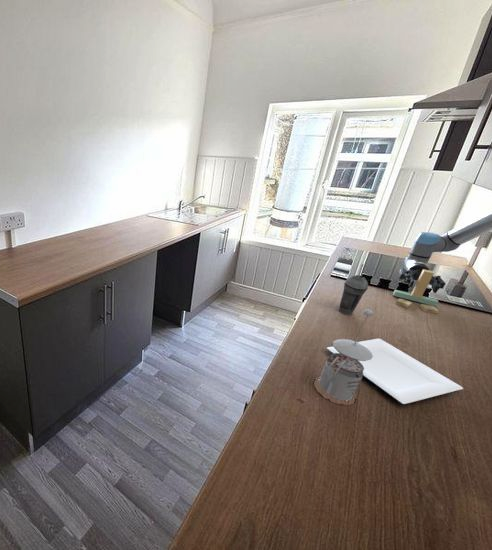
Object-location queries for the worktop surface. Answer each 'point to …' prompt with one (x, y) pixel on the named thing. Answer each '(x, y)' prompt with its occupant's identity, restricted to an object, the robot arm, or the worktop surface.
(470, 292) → the worktop surface
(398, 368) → the plate
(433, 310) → the crust
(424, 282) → the wiper
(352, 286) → the beverage cup
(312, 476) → the worktop surface
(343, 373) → the french press
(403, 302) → the crust
